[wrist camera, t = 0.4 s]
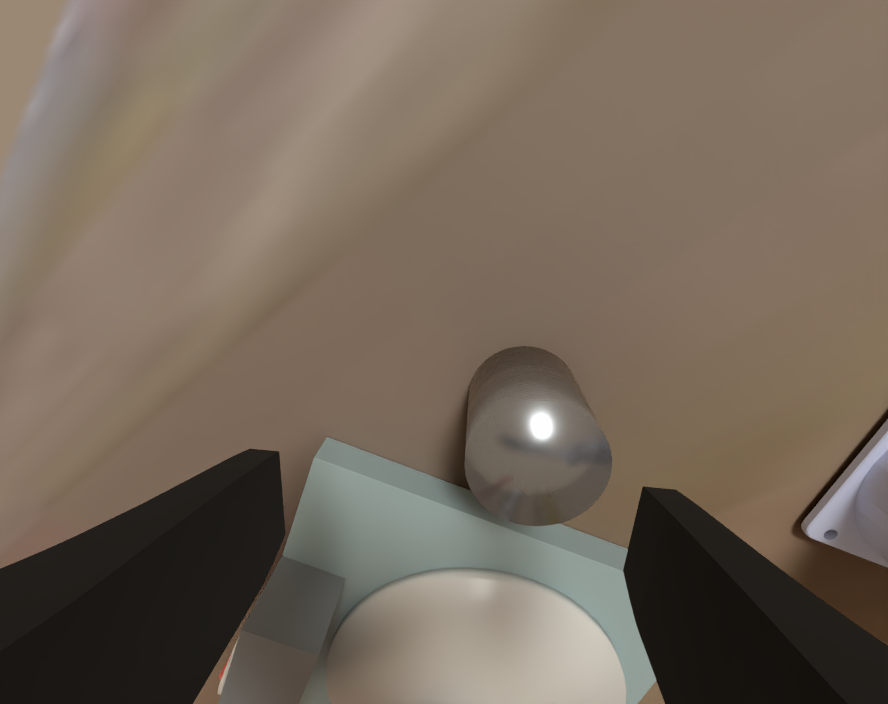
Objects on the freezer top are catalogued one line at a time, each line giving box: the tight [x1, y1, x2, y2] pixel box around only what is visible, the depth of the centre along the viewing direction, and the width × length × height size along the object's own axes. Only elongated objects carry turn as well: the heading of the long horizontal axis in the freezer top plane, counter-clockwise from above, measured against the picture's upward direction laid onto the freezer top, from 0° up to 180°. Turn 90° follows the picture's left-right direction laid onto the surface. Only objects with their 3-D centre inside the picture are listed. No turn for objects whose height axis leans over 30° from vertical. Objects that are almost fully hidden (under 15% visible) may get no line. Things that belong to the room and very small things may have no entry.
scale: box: [218, 437, 656, 704], centre depth 20 cm, size 18×18×5 cm
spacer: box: [464, 346, 612, 526], centre depth 16 cm, size 4×4×5 cm
